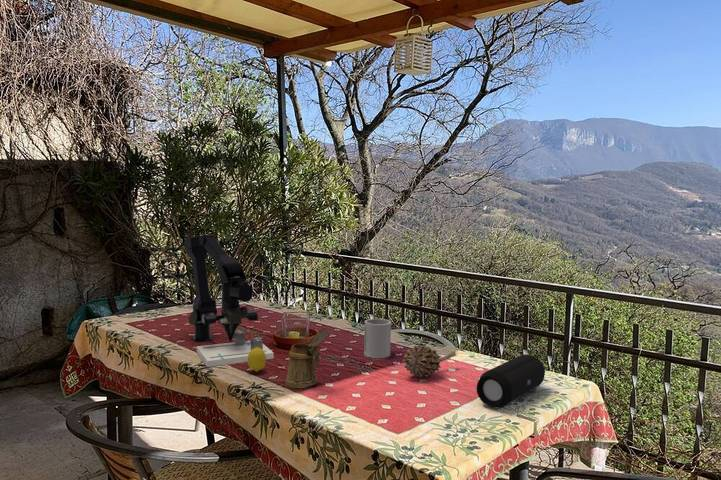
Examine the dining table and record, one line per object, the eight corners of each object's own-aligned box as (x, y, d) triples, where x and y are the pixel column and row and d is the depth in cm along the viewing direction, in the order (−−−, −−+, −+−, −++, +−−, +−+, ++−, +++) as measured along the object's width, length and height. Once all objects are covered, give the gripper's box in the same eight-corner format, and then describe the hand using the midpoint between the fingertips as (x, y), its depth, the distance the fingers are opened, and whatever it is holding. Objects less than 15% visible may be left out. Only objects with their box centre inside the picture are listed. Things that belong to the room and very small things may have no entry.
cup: (395, 355, 185) (396, 321, 184) (378, 361, 178) (379, 326, 177) (375, 350, 191) (376, 317, 190) (358, 355, 185) (359, 321, 184)
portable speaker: (506, 415, 136) (508, 377, 135) (472, 405, 142) (473, 368, 141) (547, 389, 155) (548, 356, 154) (515, 381, 161) (516, 349, 160)
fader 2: (250, 350, 180) (250, 338, 180) (259, 348, 182) (259, 337, 181) (253, 353, 177) (253, 341, 176) (262, 352, 178) (262, 340, 178)
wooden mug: (314, 394, 147) (315, 331, 146) (279, 384, 155) (279, 323, 153) (334, 385, 154) (335, 325, 153) (299, 376, 162) (300, 318, 161)
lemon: (261, 375, 162) (261, 350, 161) (244, 374, 163) (244, 348, 162) (268, 370, 167) (268, 345, 167) (252, 368, 168) (252, 343, 168)
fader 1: (233, 342, 190) (233, 330, 189) (242, 341, 191) (242, 329, 191) (236, 344, 186) (236, 333, 186) (245, 343, 187) (245, 332, 187)
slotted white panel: (196, 352, 185) (196, 346, 185) (258, 345, 195) (258, 339, 195) (207, 367, 169) (207, 360, 169) (273, 358, 179) (273, 352, 179)
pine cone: (419, 386, 155) (420, 353, 155) (395, 377, 162) (396, 345, 162) (464, 370, 170) (465, 340, 169) (441, 363, 177) (441, 334, 176)
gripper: (207, 303, 174) (207, 349, 175) (262, 299, 183) (262, 343, 184) (201, 297, 184) (201, 341, 185) (253, 294, 193) (253, 336, 194)
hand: (230, 340), depth 187 cm, fingers closed
